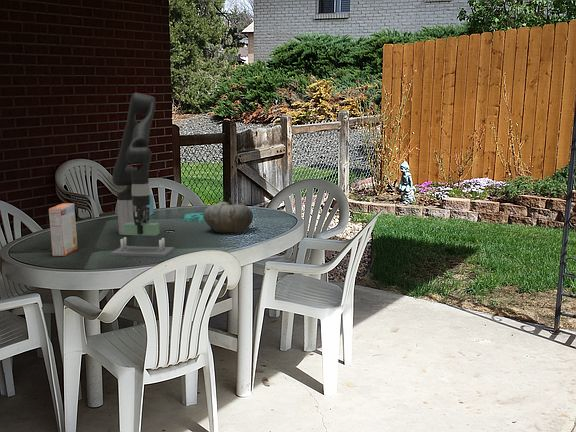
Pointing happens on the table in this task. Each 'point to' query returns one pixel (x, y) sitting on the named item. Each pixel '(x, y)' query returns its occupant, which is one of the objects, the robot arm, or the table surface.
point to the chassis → (142, 250)
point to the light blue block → (151, 205)
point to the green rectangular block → (147, 229)
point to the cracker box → (63, 229)
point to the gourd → (228, 217)
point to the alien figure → (194, 217)
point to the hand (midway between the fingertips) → (142, 232)
